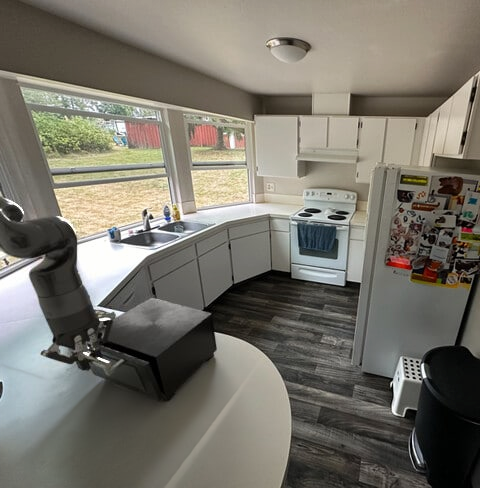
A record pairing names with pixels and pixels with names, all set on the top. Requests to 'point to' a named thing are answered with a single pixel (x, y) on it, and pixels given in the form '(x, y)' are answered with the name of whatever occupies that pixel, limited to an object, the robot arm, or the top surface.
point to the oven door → (124, 371)
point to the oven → (165, 340)
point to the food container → (104, 314)
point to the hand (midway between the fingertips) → (91, 365)
